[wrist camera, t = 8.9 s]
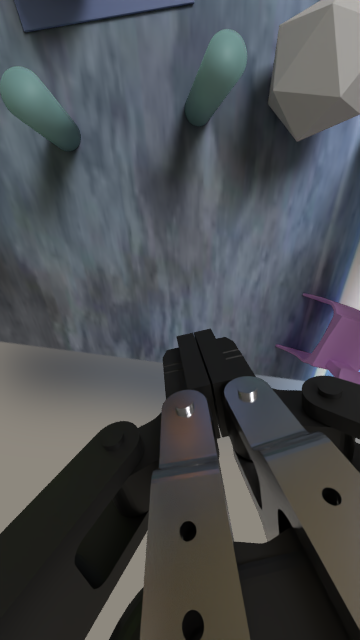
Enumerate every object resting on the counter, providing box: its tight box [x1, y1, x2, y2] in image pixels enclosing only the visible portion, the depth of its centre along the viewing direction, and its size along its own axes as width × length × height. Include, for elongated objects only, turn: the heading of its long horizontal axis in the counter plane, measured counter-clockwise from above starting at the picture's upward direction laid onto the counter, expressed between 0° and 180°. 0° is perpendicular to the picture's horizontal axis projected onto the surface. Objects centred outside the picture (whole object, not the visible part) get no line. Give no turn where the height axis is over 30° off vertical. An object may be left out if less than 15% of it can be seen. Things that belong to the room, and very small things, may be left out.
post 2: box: [185, 29, 247, 126], centre depth 20 cm, size 3×3×9 cm
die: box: [268, 0, 360, 142], centre depth 21 cm, size 8×9×10 cm
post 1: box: [0, 66, 81, 151], centre depth 19 cm, size 3×3×9 cm
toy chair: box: [275, 293, 360, 384], centre depth 29 cm, size 8×9×15 cm
